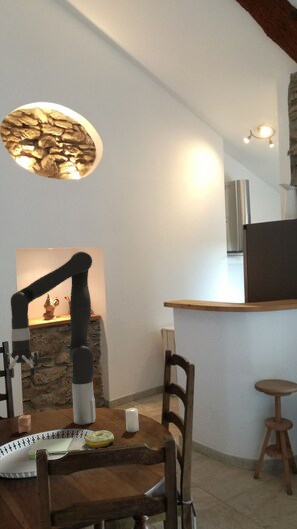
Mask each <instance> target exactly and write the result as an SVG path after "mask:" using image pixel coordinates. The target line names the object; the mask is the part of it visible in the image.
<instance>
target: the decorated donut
mask: <svg viewBox="0 0 297 529" xmlns="http://www.w3.org/2000/svg"><path fill="white" fill-rule="evenodd" d="M114 440H115V436H114V434H113V433H112V432H111V431H109V430H96V431H92V432H89V433H87V434H86V435H85V437H84V443H85V444H86V445H87V446H88V447H89V448H93V449H98V448H99V449H100V448H105V447H107V446H109V445H110V444H111V443H112V442H113V441H114Z"/></svg>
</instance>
